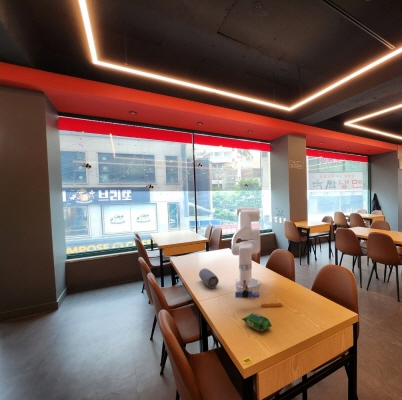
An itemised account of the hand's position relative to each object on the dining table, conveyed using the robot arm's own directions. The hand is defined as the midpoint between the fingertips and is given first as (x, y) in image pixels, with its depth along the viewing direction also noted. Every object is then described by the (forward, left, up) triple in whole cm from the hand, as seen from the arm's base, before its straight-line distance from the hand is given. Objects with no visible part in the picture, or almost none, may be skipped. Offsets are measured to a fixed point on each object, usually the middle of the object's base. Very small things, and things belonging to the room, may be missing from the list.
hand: (245, 296), depth 137 cm
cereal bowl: (-20, 0, -7) cm, 21 cm away
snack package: (+22, +8, -7) cm, 24 cm away
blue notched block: (0, +1, 0) cm, 1 cm away
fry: (0, +16, -6) cm, 17 cm away
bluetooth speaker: (-38, -32, -7) cm, 50 cm away
